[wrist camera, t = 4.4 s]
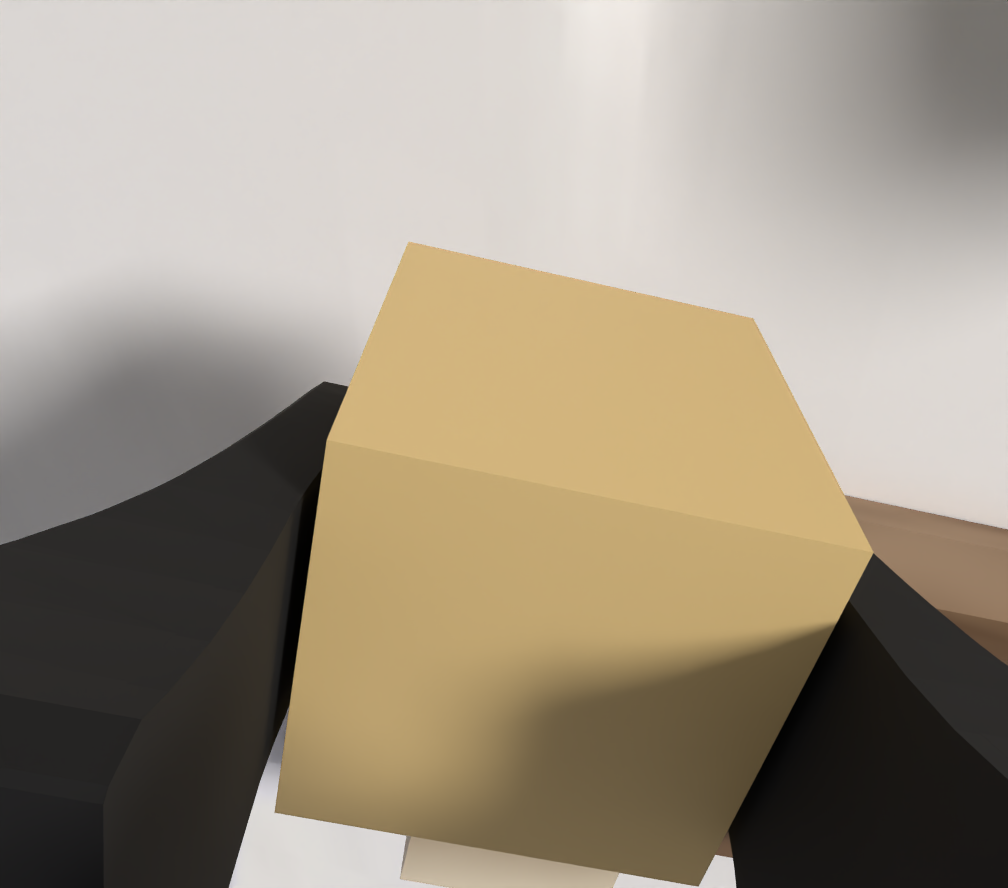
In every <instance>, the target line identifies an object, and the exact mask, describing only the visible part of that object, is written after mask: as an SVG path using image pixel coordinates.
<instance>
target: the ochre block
mask: <svg viewBox="0 0 1008 888" xmlns="http://www.w3.org/2000/svg"><path fill="white" fill-rule="evenodd" d="M873 553H874V552H873V550H872V548H871V546H870V544H869V542H868V540H867V539H866V537H865V535H864V533H863V531H862V529H861V527H860V525H859V523H858V521H857V519H856V517H855V515H854V513H853V511H852V509H851V507H850V505H849V504H848V502H847V500H846V498H845V496H844V494H843V492H842V490H841V488H840V486H839V484H838V482H837V480H836V478H835V476H834V474H833V472H832V470H831V469H830V467H829V465H828V463H827V461H826V459H825V457H824V455H823V453H822V451H821V449H820V447H819V445H818V443H817V441H816V439H815V437H814V436H813V434H812V432H811V430H810V428H809V426H808V424H807V422H806V420H805V418H804V416H803V414H802V412H801V410H800V408H799V406H798V404H797V402H796V401H795V399H794V397H793V395H792V393H791V391H790V389H789V387H788V385H787V383H786V381H785V379H784V377H783V375H782V373H781V371H780V369H779V368H778V366H777V364H776V362H775V360H774V358H773V356H772V354H771V352H770V350H769V348H768V346H767V344H766V342H765V340H764V338H763V336H762V334H761V333H760V331H759V329H758V327H757V325H756V323H755V321H754V319H753V318H748V317H744V316H739V315H735V314H730V313H726V312H721V311H717V310H713V309H708V308H704V307H699V306H695V305H690V304H686V303H681V302H677V301H672V300H668V299H663V298H659V297H654V296H650V295H645V294H641V293H636V292H632V291H627V290H623V289H618V288H614V287H610V286H605V285H601V284H596V283H592V282H587V281H583V280H578V279H574V278H569V277H565V276H560V275H556V274H551V273H547V272H542V271H538V270H533V269H529V268H524V267H520V266H516V265H511V264H507V263H502V262H498V261H493V260H489V259H484V258H480V257H475V256H471V255H466V254H462V253H457V252H453V251H448V250H444V249H439V248H435V247H430V246H426V245H421V244H417V243H413V242H408V244H407V247H406V249H405V252H404V254H403V256H402V259H401V261H400V264H399V266H398V269H397V271H396V273H395V276H394V278H393V281H392V283H391V286H390V288H389V290H388V293H387V295H386V298H385V300H384V302H383V305H382V307H381V310H380V312H379V315H378V317H377V319H376V322H375V324H374V327H373V329H372V332H371V334H370V336H369V339H368V341H367V344H366V346H365V349H364V351H363V353H362V356H361V358H360V361H359V363H358V365H357V368H356V370H355V373H354V375H353V378H352V380H351V382H350V385H349V387H348V390H347V392H346V395H345V397H344V399H343V402H342V404H341V407H340V409H339V411H338V414H337V416H336V419H335V421H334V424H333V426H332V428H331V431H330V433H329V436H328V438H327V442H326V449H325V456H324V463H323V470H322V477H321V485H320V492H319V499H318V506H317V513H316V520H315V527H314V535H313V542H312V549H311V556H310V563H309V570H308V577H307V585H306V592H305V599H304V606H303V613H302V620H301V628H300V635H299V642H298V649H297V656H296V663H295V670H294V678H293V685H292V692H291V699H290V706H289V713H288V720H287V728H286V735H285V742H284V749H283V756H282V763H281V770H280V778H279V785H278V792H277V799H276V806H275V813H280V814H286V815H292V816H297V817H303V818H309V819H315V820H320V821H326V822H332V823H338V824H343V825H349V826H355V827H360V828H366V829H372V830H378V831H383V832H389V833H395V834H400V835H406V836H412V837H418V838H423V839H429V840H435V841H441V842H446V843H452V844H458V845H463V846H469V847H475V848H481V849H486V850H492V851H498V852H504V853H509V854H515V855H521V856H526V857H532V858H538V859H544V860H549V861H555V862H561V863H567V864H572V865H578V866H584V867H589V868H595V869H601V870H607V871H612V872H618V873H624V874H630V875H635V876H641V877H647V878H652V879H658V880H664V881H670V882H675V883H681V884H687V885H693V886H699V884H700V882H701V881H702V879H703V877H704V875H705V873H706V871H707V869H708V867H709V865H710V863H711V861H712V860H713V858H714V856H715V854H716V852H717V850H718V848H719V846H720V844H721V842H722V840H723V839H724V837H725V835H726V833H727V831H728V829H729V827H730V825H731V823H732V821H733V820H734V818H735V816H736V814H737V812H738V810H739V808H740V806H741V804H742V802H743V800H744V799H745V797H746V795H747V793H748V791H749V789H750V787H751V785H752V783H753V781H754V780H755V778H756V776H757V774H758V772H759V770H760V768H761V766H762V764H763V762H764V760H765V759H766V757H767V755H768V753H769V751H770V749H771V747H772V745H773V743H774V741H775V740H776V738H777V736H778V734H779V732H780V730H781V728H782V726H783V724H784V722H785V720H786V719H787V717H788V715H789V713H790V711H791V709H792V707H793V705H794V703H795V701H796V699H797V698H798V696H799V694H800V692H801V690H802V688H803V686H804V684H805V682H806V680H807V679H808V677H809V675H810V673H811V671H812V669H813V667H814V665H815V663H816V661H817V659H818V658H819V656H820V654H821V652H822V650H823V648H824V646H825V644H826V642H827V640H828V639H829V637H830V635H831V633H832V631H833V629H834V627H835V625H836V623H837V621H838V619H839V618H840V616H841V614H842V612H843V610H844V608H845V606H846V604H847V602H848V600H849V599H850V597H851V595H852V593H853V591H854V589H855V587H856V585H857V583H858V581H859V579H860V578H861V576H862V574H863V572H864V570H865V568H866V566H867V564H868V562H869V560H870V558H871V557H872V555H873Z"/></svg>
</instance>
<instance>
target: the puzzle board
mask: <svg viewBox="0 0 1008 888" xmlns="http://www.w3.org/2000/svg"><path fill="white" fill-rule="evenodd" d="M844 496H845V495H844ZM845 498H846V500H847V502H848V504H849V505H850V507H851V509H852V511H853V513H854V515H855V517H856V519H857V521H858V523H859V525H860V527H861V529H862V531H863V533H864V535H865V537H866V539H867V540H868V542H869V544H870V546H871V548H872V550H873V552H874V554H875V555H876V556H877V557H878V558H879V559H881V560H882V561H883V562H884V563H885V564H886V565H887V566H888V567H889V568H890V569H891V570H893V571H894V572H895V573H896V574H897V575H898V576H899V577H900V578H901V579H903V580H904V581H905V582H906V583H907V584H908V585H909V586H910V587H912V588H913V589H914V590H915V591H916V592H917V593H918V594H920V595H921V596H922V597H923V598H924V599H925V600H926V601H928V602H929V603H930V604H931V605H932V606H933V607H935V608H936V609H937V610H938V611H940V612H941V613H942V614H943V615H944V616H946V617H947V618H948V619H949V620H950V621H952V622H953V623H954V624H955V625H956V626H958V627H959V628H960V629H961V630H963V631H964V632H965V633H966V634H967V635H969V636H970V637H971V638H972V639H973V640H975V641H976V642H977V643H979V644H980V645H981V646H982V647H984V648H985V649H986V650H988V651H989V652H990V653H991V654H993V655H994V656H995V657H997V658H998V659H999V660H1001V661H1002V662H1003V663H1005V664H1006V665H1008V530H1007V529H1002V528H997V527H992V526H988V525H983V524H978V523H973V522H969V521H964V520H959V519H954V518H950V517H945V516H940V515H935V514H931V513H926V512H921V511H916V510H911V509H907V508H902V507H897V506H892V505H888V504H883V503H878V502H873V501H869V500H864V499H859V498H854V497H850V496H845ZM715 855H720V856H725V857H731V858H733V855H732V850H731V844H730V838H729V832H728V831H727V833H726V835H725V837H724V839H723V840H722V842H721V844H720V846H719V848H718V850H717V852H716V854H715ZM618 875H619V873H618V872H612V871H607V870H601V869H595V868H589V867H584V866H578V865H572V864H567V863H561V862H555V861H549V860H544V859H538V858H532V857H526V856H521V855H515V854H509V853H504V852H498V851H492V850H486V849H481V848H475V847H469V846H463V845H458V844H452V843H446V842H441V841H435V840H429V839H423V838H418V837H412V836H406V842H405V849H404V856H403V862H402V869H401V876H400V879H403V880H408V881H414V882H420V883H426V884H432V885H438V886H443V887H449V888H613V886H614V884H615V881H616V879H617V877H618Z"/></svg>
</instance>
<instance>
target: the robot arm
mask: <svg viewBox="0 0 1008 888" xmlns="http://www.w3.org/2000/svg"><path fill="white" fill-rule="evenodd" d="M347 390H348V386H343V385H338V384H333V383H328V382H323V383H321V384H320V385H318V386H316V387H315V388H313V389H312V390H310V391H309V392H308V393H306V394H305V395H303V396H302V397H301V398H299V399H298V400H297V401H295V402H294V403H293V404H291V405H290V406H289V407H287V408H286V409H284V410H283V411H282V412H280V413H279V414H277V415H276V416H275V417H273V418H272V419H270V420H269V421H268V422H266V423H265V424H263V425H262V426H260V427H259V428H257V429H256V430H254V431H253V432H251V433H250V434H248V435H247V436H245V437H244V438H242V439H240V440H239V441H237V442H236V443H234V444H233V445H231V446H230V447H228V448H227V449H225V450H223V451H222V452H220V453H219V454H217V455H215V456H213V457H212V458H210V459H208V460H206V461H205V462H203V463H201V464H199V465H198V466H196V467H194V468H192V469H191V470H189V471H187V472H185V473H183V474H182V475H180V476H178V477H176V478H174V479H172V480H170V481H168V482H166V483H164V484H162V485H160V486H158V487H156V488H154V489H152V490H149V491H147V492H145V493H143V494H141V495H138V496H136V497H134V498H131V499H129V500H127V501H124V502H122V503H120V504H117V505H115V506H113V507H110V508H108V509H105V510H103V511H100V512H98V513H95V514H93V515H90V516H87V517H84V518H81V519H78V520H75V521H72V522H69V523H66V524H63V525H60V526H57V527H54V528H51V529H48V530H45V531H42V532H39V533H36V534H33V535H31V536H28V537H25V538H22V539H19V540H16V541H12V542H9V543H6V544H2V545H0V888H229V884H230V881H231V877H232V874H233V870H234V867H235V864H236V860H237V857H238V853H239V850H240V847H241V843H242V840H243V837H244V833H245V830H246V827H247V823H248V820H249V816H250V813H251V810H252V806H253V803H254V800H255V796H256V793H257V790H258V786H259V783H260V780H261V777H262V774H263V772H264V769H265V766H266V763H267V760H268V758H269V755H270V752H271V749H272V747H273V744H274V742H275V739H276V737H277V734H278V732H279V729H280V727H281V725H282V722H283V720H284V717H285V715H286V712H287V710H288V708H289V705H290V699H291V692H292V685H293V678H294V670H295V663H296V656H297V649H298V642H299V635H300V628H301V620H302V613H303V606H304V599H305V592H306V585H307V577H308V570H309V563H310V556H311V549H312V542H313V535H314V527H315V520H316V513H317V506H318V499H319V492H320V485H321V477H322V470H323V463H324V456H325V449H326V442H327V438H328V436H329V433H330V431H331V428H332V426H333V424H334V421H335V419H336V416H337V414H338V411H339V409H340V407H341V404H342V402H343V399H344V397H345V395H346V392H347ZM728 832H729V838H730V844H731V850H732V855H733V861H734V868H735V877H736V887H737V888H1008V665H1006V664H1005V663H1003V662H1002V661H1001V660H999V659H998V658H997V657H995V656H994V655H993V654H991V653H990V652H989V651H988V650H986V649H985V648H984V647H982V646H981V645H980V644H979V643H977V642H976V641H975V640H973V639H972V638H971V637H970V636H969V635H967V634H966V633H965V632H964V631H963V630H961V629H960V628H959V627H958V626H956V625H955V624H954V623H953V622H952V621H950V620H949V619H948V618H947V617H946V616H944V615H943V614H942V613H941V612H940V611H938V610H937V609H936V608H935V607H933V606H932V605H931V604H930V603H929V602H928V601H926V600H925V599H924V598H923V597H922V596H921V595H920V594H918V593H917V592H916V591H915V590H914V589H913V588H912V587H910V586H909V585H908V584H907V583H906V582H905V581H904V580H903V579H901V578H900V577H899V576H898V575H897V574H896V573H895V572H894V571H893V570H891V569H890V568H889V567H888V566H887V565H886V564H885V563H884V562H883V561H882V560H881V559H879V558H878V557H877V556H876V555H875V554H874V553H873V555H872V557H871V558H870V560H869V562H868V564H867V566H866V568H865V570H864V572H863V574H862V576H861V578H860V579H859V581H858V583H857V585H856V587H855V589H854V591H853V593H852V595H851V597H850V599H849V600H848V602H847V604H846V606H845V608H844V610H843V612H842V614H841V616H840V618H839V619H838V621H837V623H836V625H835V627H834V629H833V631H832V633H831V635H830V637H829V639H828V640H827V642H826V644H825V646H824V648H823V650H822V652H821V654H820V656H819V658H818V659H817V661H816V663H815V665H814V667H813V669H812V671H811V673H810V675H809V677H808V679H807V680H806V682H805V684H804V686H803V688H802V690H801V692H800V694H799V696H798V698H797V699H796V701H795V703H794V705H793V707H792V709H791V711H790V713H789V715H788V717H787V719H786V720H785V722H784V724H783V726H782V728H781V730H780V732H779V734H778V736H777V738H776V740H775V741H774V743H773V745H772V747H771V749H770V751H769V753H768V755H767V757H766V759H765V760H764V762H763V764H762V766H761V768H760V770H759V772H758V774H757V776H756V778H755V780H754V781H753V783H752V785H751V787H750V789H749V791H748V793H747V795H746V797H745V799H744V800H743V802H742V804H741V806H740V808H739V810H738V812H737V814H736V816H735V818H734V820H733V821H732V823H731V825H730V827H729V829H728Z"/></svg>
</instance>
